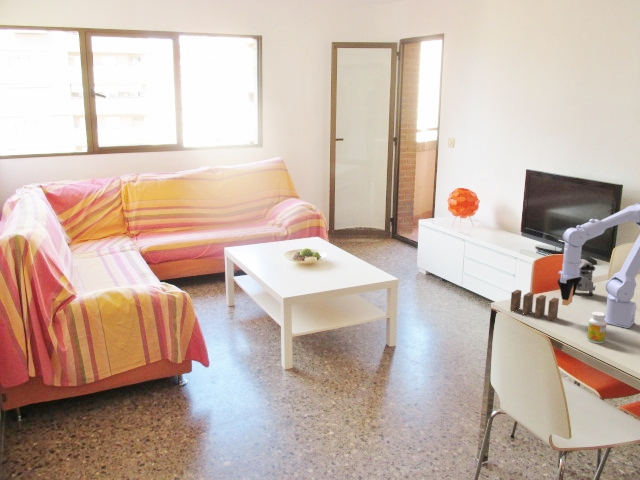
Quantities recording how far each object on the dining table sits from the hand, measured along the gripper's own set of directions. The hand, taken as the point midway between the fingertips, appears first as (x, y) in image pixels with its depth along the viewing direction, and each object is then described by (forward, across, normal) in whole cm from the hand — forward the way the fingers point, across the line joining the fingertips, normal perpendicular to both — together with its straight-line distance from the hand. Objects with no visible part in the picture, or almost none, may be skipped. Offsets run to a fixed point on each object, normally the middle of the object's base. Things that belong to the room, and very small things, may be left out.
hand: (567, 297), depth 219 cm
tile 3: (+9, 0, -10) cm, 13 cm away
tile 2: (+9, 0, -5) cm, 11 cm away
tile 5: (+9, 0, -19) cm, 21 cm away
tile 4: (+9, 0, -14) cm, 17 cm away
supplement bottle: (+10, +11, +14) cm, 20 cm away
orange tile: (+2, 0, 0) cm, 2 cm away
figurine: (+10, -36, -6) cm, 38 cm away
